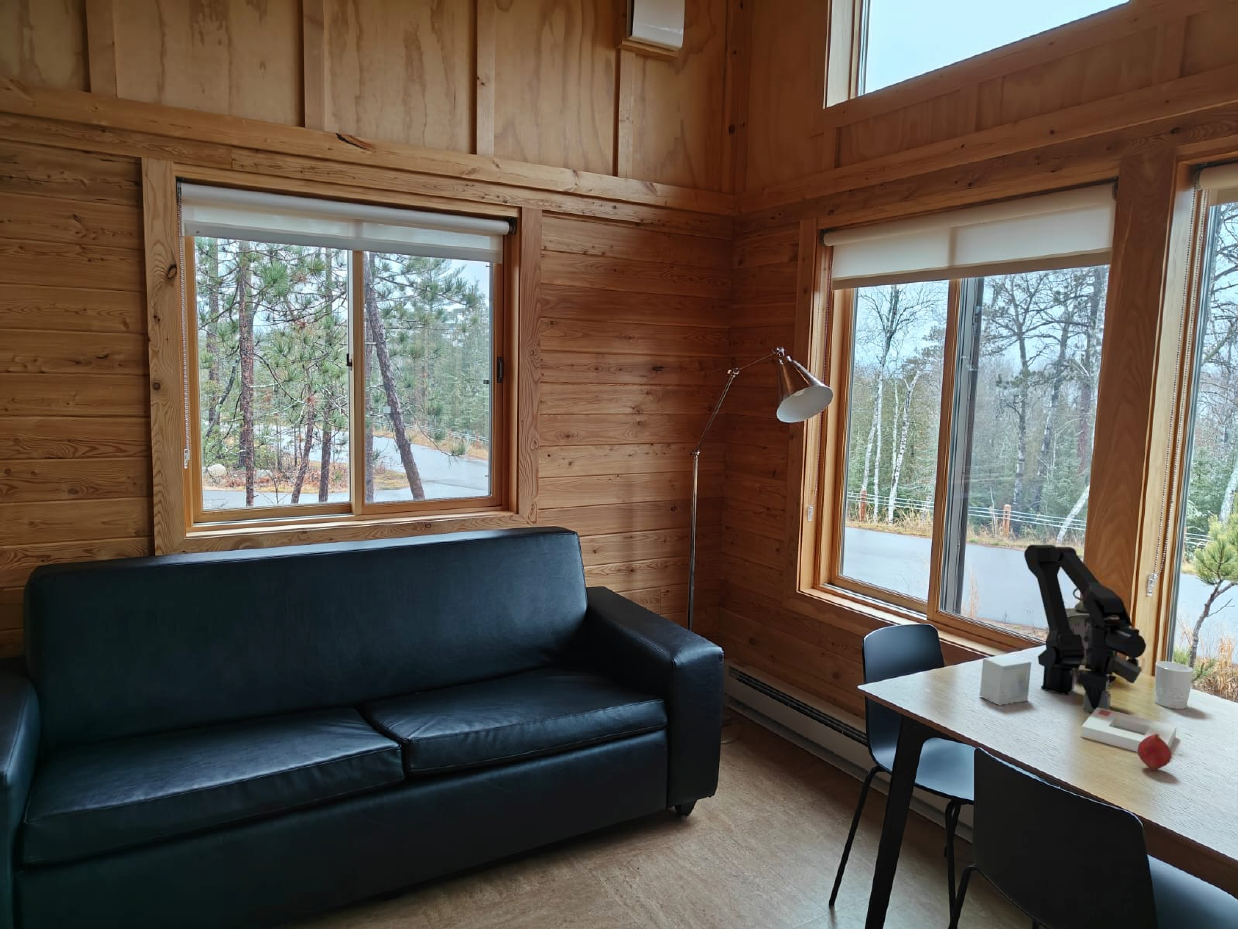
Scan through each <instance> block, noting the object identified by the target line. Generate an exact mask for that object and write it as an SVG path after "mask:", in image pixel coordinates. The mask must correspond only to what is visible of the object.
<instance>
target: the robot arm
mask: <svg viewBox="0 0 1238 929" xmlns="http://www.w3.org/2000/svg"><path fill="white" fill-rule="evenodd" d="M1077 554H1078V553H1077V550H1076V549H1075V548H1073V547H1071V546H1055V545H1053V544H1030V545H1028V546H1027V548H1026V549H1025V550H1024V554H1023V556H1024V560H1025V563H1026V566H1027V568H1028V570H1029V571H1030V573H1031V574H1032V575H1034V577H1035V578H1036V580H1037V584H1038V587H1039V592H1040V596H1041V600H1042V601H1041V602H1042V604H1043V610H1044V612H1045V617H1046V622H1047V625H1048V626H1047V627H1048V631H1049V632H1048V633H1047V636H1046V639H1045V650H1044V651H1042V652H1040V654H1039V655H1038V656H1037V660H1038V665H1040V666H1042V667H1043V676H1042V677H1043V678H1042V679H1043V680H1042V685H1041V686H1040V689H1041V690H1045V691H1049V692H1052V693H1057V694H1062V695H1065V696H1067V695H1069V694H1070V693H1072V692H1073V691H1074V689H1075V679H1076V684H1078V685H1081V686H1082V687H1083V690H1084V693H1085V692H1086V694H1087V696H1088V699H1089V701H1090V704H1091V706H1092V708H1093V709H1096V708H1097V707H1098V705H1099V702H1100V699H1101V695H1102V692H1103V690H1105V691H1108V689H1109V687H1110V686H1111V684H1112V682H1114V681H1116V680H1117V677H1118V676H1119V677H1121V678H1122V679H1124V680H1125V681H1126V682H1128V683H1131V684H1134V683H1135V682H1136V681H1137V679H1138V677H1139V675H1140V673H1141V672H1142V670H1143V669H1142V667H1141V666H1139V664H1140V663H1139V659H1138V658H1140V657H1141V656H1142V655H1143V654H1144V653H1145V651H1146V647H1147V643H1146V641H1145V638H1144V637H1143V636H1142V635H1140V630H1139V629H1138V628H1135V627H1132V626H1133V622H1132V620H1131V617H1130V615H1129V613H1128V612H1127V608H1126V607H1125V606H1126V605H1125V603H1124V600H1122V598H1121V597H1120V595H1119V594H1117V593H1116V592H1115V591H1114V590H1113V589H1111V588H1108V587H1107V586H1104V585H1103V583H1101V582H1100V581H1098V579H1097V578H1096V577H1095V576H1094V574H1093V573H1092V572H1091V571H1090V569H1089V568H1088V567H1087V566H1086V564H1085V563H1084V562H1083V560H1082V559H1081V558H1080V557H1079V556H1078V555H1077ZM1061 569H1062V570H1063V572H1064V573H1065V574H1066V575H1067V577H1068V578H1069V579H1070V581H1071V582H1072V583H1073V584H1074V586H1075V587H1076V588H1078V590H1077V591H1079V592H1080V593H1081V596H1082V598H1083V599H1082V603H1083V605H1084V606H1085V608H1086V610H1087V612H1088V613H1089V615H1090V616H1089V617H1087V618H1085V619H1084V622H1086V623H1089V624H1090V632H1089V644H1088V647H1087V648H1086V652H1087V653H1088V656H1087V663H1086V664H1085V666H1084V670H1082V671H1081V672H1079V673H1078V675H1077V676H1076V674H1075V673H1074V669H1079V670H1080V667H1081V666H1082V665H1081V663H1082V660H1083V658H1084V650H1085V648H1084V646H1083V643H1082V637H1081V635H1080V634H1075V633H1074V632H1073V631H1072V630H1071V629H1070V626H1069V622H1068V618H1067V613H1066V609H1065V608H1066V606H1065V601H1064V599H1063V593H1062V590H1061V586H1060V585H1061V584H1060V581H1059V577H1058V575H1059V571H1060V570H1061ZM1104 618H1111V619H1104ZM1119 654H1121V655H1123V656H1126V657H1128V658H1127V659H1126V658H1125V657H1124V658H1123V657H1120V656H1119ZM1113 674H1115V675H1117V676H1115V675H1113Z"/></svg>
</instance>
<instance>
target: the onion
mask: <svg viewBox="0 0 1238 929" xmlns="http://www.w3.org/2000/svg"><path fill="white" fill-rule="evenodd" d="M1137 755H1138V758H1139V759H1140V760H1141V761H1142V763H1143V764H1145V766H1146V767H1147V768H1149V769H1150V770H1151V771H1158V770H1159V769H1161V768H1163V767H1166V766H1167V765H1168V764H1169V763H1170V761H1171V759H1172V752H1171V749H1169V747H1168V745H1167V744H1166V743H1165V742H1164V741H1163V740H1162V739H1161V738H1160V737H1159V734H1158V733H1155V734H1154V735H1152V736H1149V737H1147V738H1145V739H1144V740H1142V741H1141V742H1140V744H1139V746H1138V752H1137Z"/></svg>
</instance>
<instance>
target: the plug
mask: <svg viewBox="0 0 1238 929" xmlns="http://www.w3.org/2000/svg"><path fill="white" fill-rule="evenodd" d="M1110 692H1111V691H1109V690H1106V691H1105V690H1103V692H1102V695H1101V699H1100V702H1099V705H1098V707H1099V708H1103V709H1107V710H1111V699H1112V694H1111V693H1110ZM1083 694H1084V695H1083V707H1082V710H1083V711H1087V712H1091V713H1093V712H1094V711H1095V709H1093V708H1092V706H1091V704H1090V701H1089V699H1088V696H1087V694H1086V692H1085V691H1084V693H1083Z"/></svg>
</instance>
